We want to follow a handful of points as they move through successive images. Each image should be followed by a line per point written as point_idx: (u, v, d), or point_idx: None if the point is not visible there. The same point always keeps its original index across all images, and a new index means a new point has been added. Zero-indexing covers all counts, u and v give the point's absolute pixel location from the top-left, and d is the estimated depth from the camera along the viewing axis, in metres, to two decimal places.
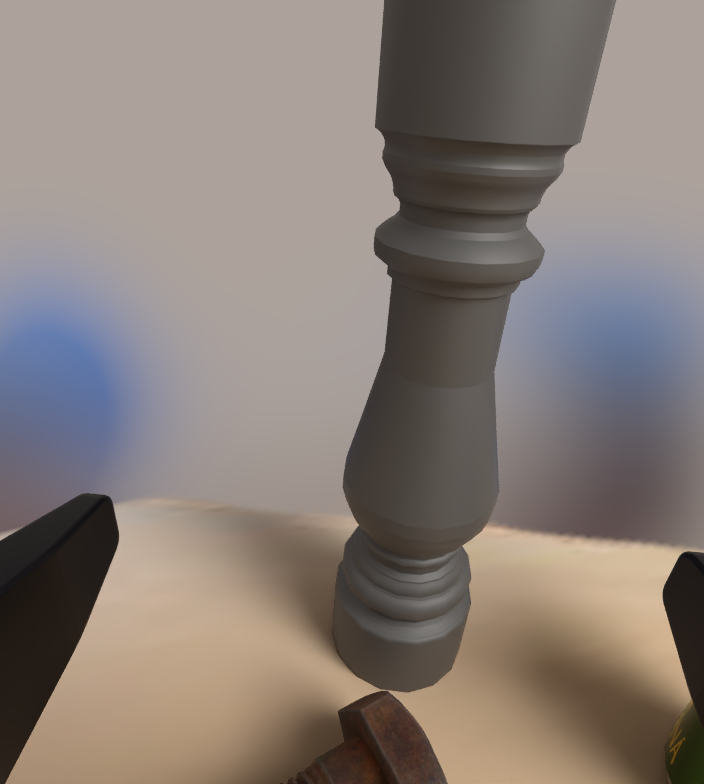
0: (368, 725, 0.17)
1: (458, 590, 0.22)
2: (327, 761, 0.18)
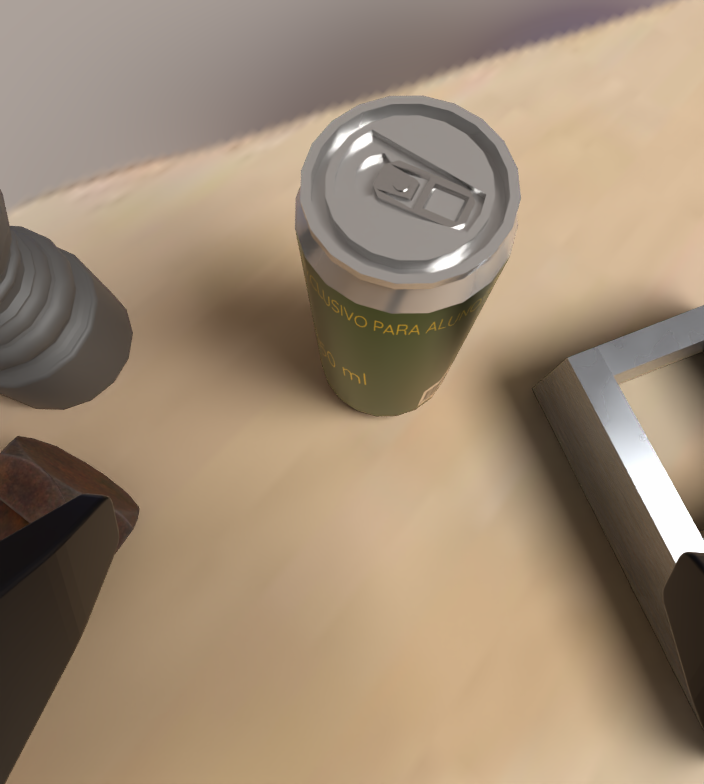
0: None
1: (54, 310, 0.19)
2: None
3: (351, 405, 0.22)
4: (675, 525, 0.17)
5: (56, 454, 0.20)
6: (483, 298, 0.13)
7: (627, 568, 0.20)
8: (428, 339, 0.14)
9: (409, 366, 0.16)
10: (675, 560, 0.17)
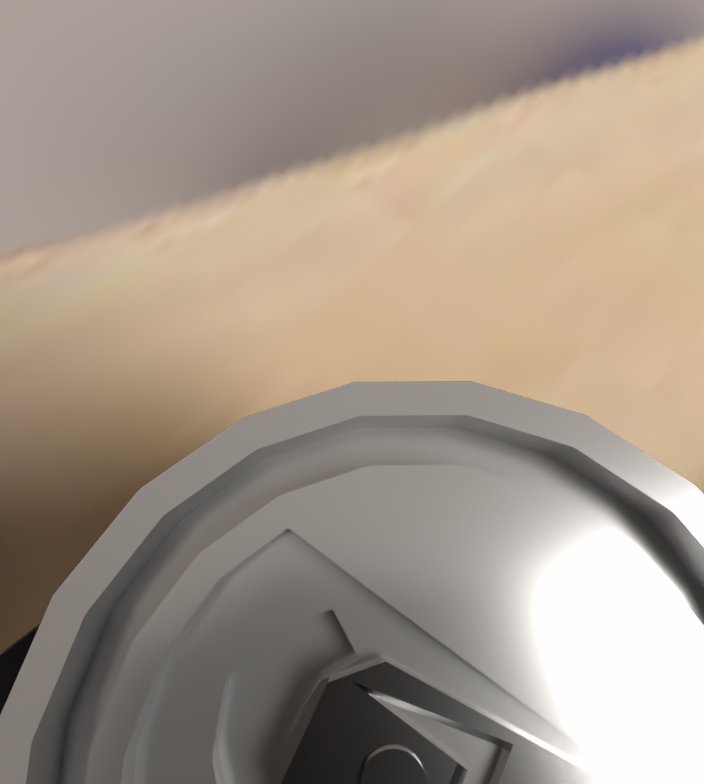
0: None
1: None
2: None
3: None
4: None
5: None
6: None
7: None
8: None
9: None
10: None
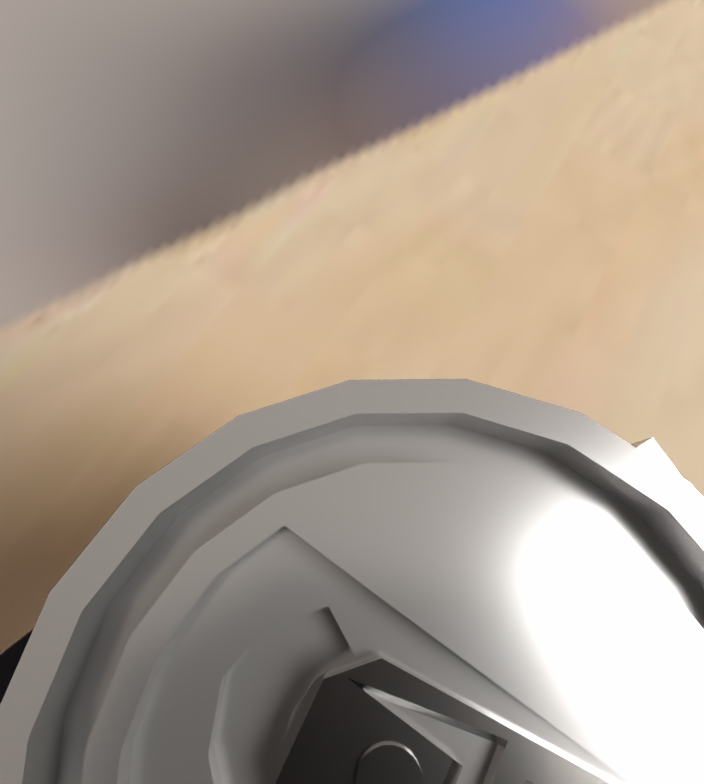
0: None
1: None
2: None
3: None
4: None
5: None
6: None
7: None
8: None
9: None
10: None
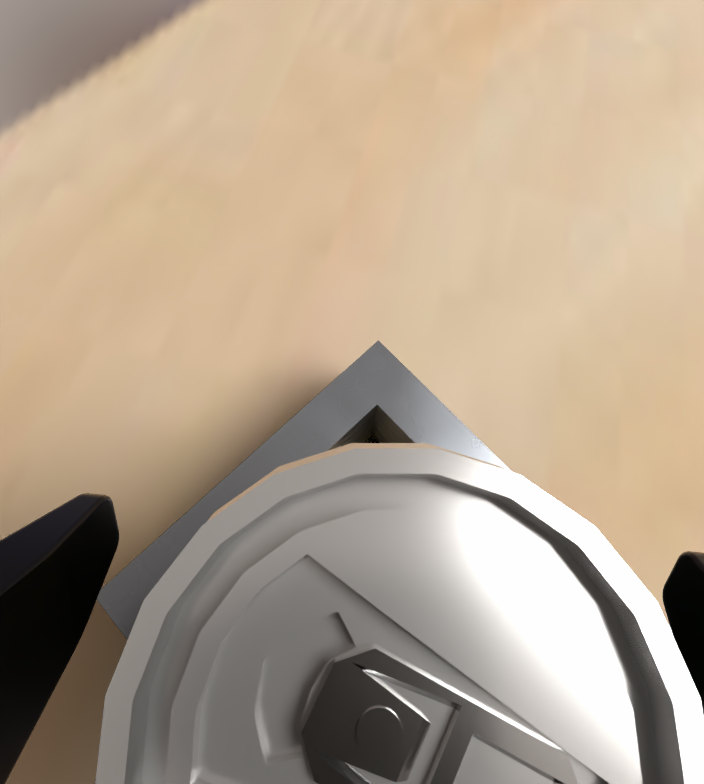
0: None
1: None
2: None
3: None
4: None
5: None
6: None
7: None
8: None
9: None
10: None
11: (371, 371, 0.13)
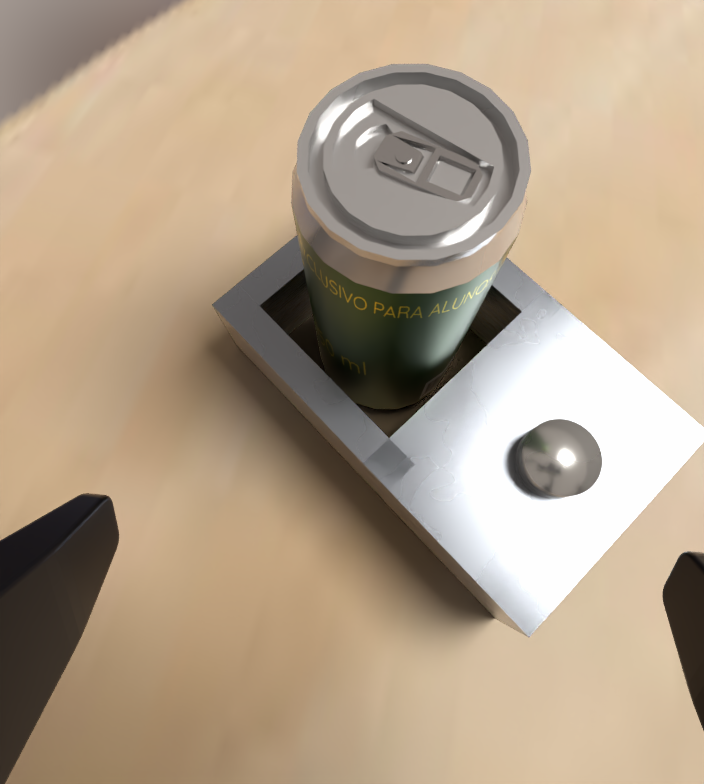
0: None
1: None
2: None
3: (350, 397, 0.21)
4: (349, 423, 0.18)
5: None
6: (489, 280, 0.13)
7: (363, 477, 0.21)
8: (430, 323, 0.13)
9: (411, 354, 0.15)
10: (356, 455, 0.17)
11: None
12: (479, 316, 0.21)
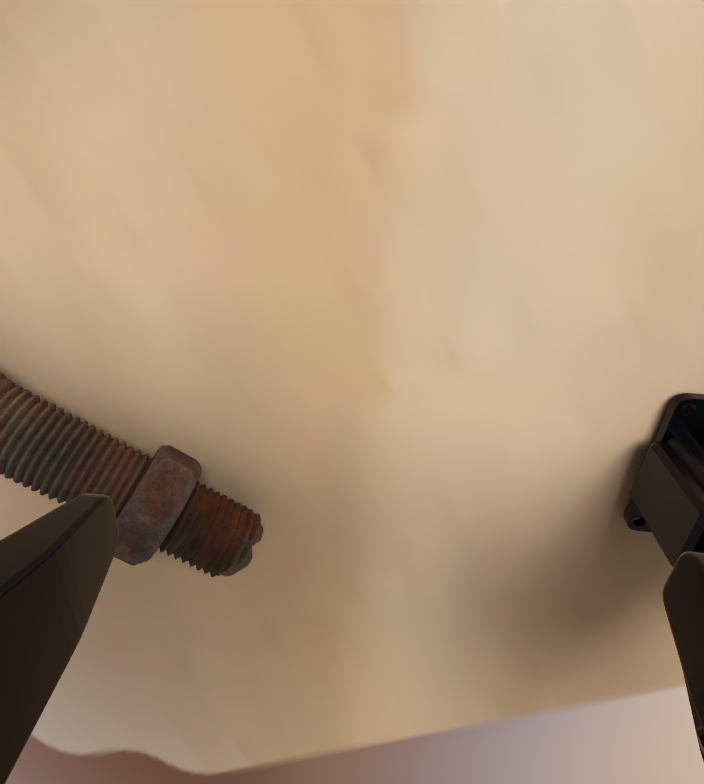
0: None
1: None
2: None
3: None
4: None
5: None
6: None
7: None
8: None
9: None
10: None
11: None
12: None
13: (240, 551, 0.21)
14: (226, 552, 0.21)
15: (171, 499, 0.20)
